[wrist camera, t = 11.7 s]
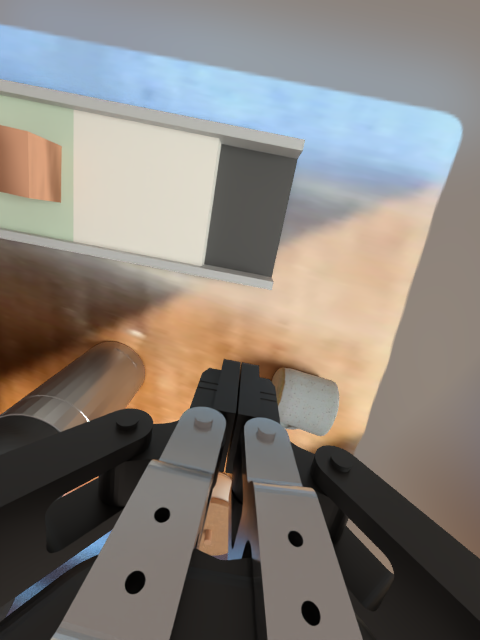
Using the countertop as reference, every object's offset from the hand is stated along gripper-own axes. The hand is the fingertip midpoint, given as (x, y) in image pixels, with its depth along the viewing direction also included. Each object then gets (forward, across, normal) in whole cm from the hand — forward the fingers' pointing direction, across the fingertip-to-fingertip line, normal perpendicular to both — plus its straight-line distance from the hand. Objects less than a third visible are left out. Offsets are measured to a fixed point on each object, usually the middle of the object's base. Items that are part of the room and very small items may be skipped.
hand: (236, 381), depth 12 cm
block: (+24, +26, -8) cm, 37 cm away
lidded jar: (+27, -1, +36) cm, 45 cm away
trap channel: (+27, +19, -8) cm, 34 cm away
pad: (+27, +27, -8) cm, 39 cm away
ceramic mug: (+27, -10, +16) cm, 33 cm away
